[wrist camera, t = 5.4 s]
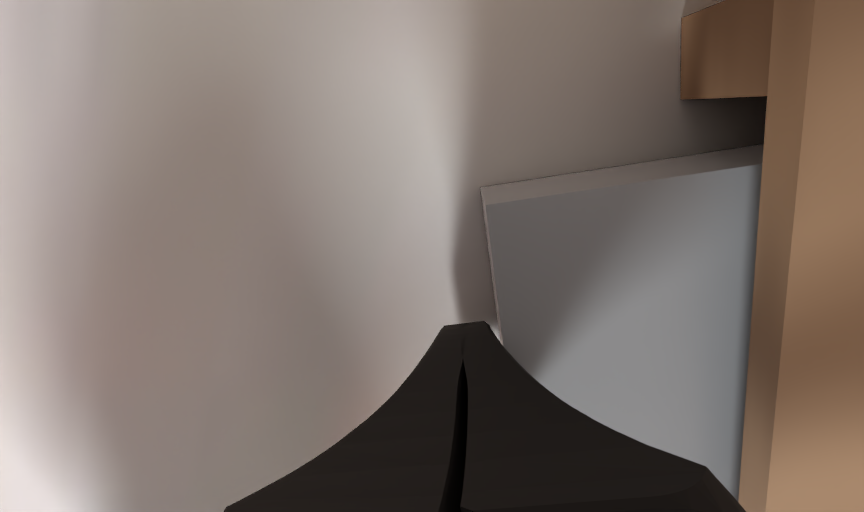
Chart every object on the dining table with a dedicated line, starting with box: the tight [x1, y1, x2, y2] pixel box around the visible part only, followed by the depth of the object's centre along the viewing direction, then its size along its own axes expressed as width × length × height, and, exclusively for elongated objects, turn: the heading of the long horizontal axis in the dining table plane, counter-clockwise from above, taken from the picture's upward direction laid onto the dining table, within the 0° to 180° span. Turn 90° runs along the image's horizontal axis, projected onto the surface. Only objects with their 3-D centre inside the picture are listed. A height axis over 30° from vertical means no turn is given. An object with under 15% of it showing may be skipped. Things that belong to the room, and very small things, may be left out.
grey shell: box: [480, 144, 764, 501], centre depth 10 cm, size 8×10×2 cm
